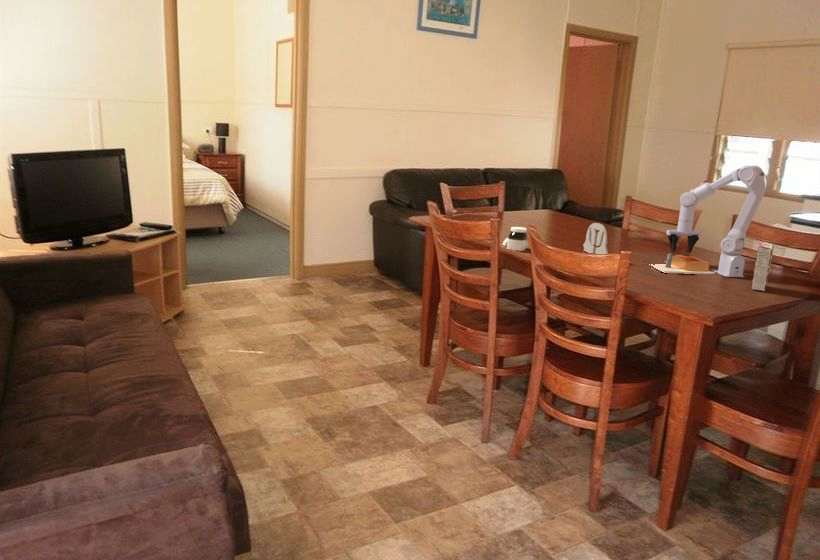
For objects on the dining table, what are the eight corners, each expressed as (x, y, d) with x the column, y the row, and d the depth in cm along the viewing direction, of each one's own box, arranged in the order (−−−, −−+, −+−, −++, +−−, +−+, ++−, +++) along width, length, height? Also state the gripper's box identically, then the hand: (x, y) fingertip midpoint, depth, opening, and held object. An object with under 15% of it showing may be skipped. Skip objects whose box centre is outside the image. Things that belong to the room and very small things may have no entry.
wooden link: (707, 271, 256) (709, 262, 255) (684, 270, 255) (686, 261, 254) (688, 263, 270) (689, 255, 269) (666, 262, 269) (667, 254, 268)
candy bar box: (752, 284, 242) (759, 242, 238) (766, 286, 239) (774, 244, 235) (749, 289, 232) (758, 246, 229) (765, 291, 230) (773, 248, 226)
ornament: (608, 267, 259) (613, 227, 255) (579, 267, 255) (584, 226, 251) (581, 256, 279) (585, 219, 275) (554, 256, 276) (558, 218, 272)
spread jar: (520, 257, 269) (523, 230, 267) (496, 253, 275) (498, 227, 272) (529, 253, 279) (532, 227, 277) (506, 249, 285) (508, 224, 282)
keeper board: (714, 275, 253) (717, 258, 252) (663, 274, 251) (666, 256, 249) (688, 265, 273) (690, 249, 271) (640, 263, 270) (642, 247, 269)
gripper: (696, 220, 269) (691, 250, 272) (664, 218, 267) (660, 249, 270) (705, 222, 262) (700, 254, 265) (673, 221, 260) (668, 253, 263)
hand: (680, 252), depth 267 cm, fingers open, 7 cm apart
